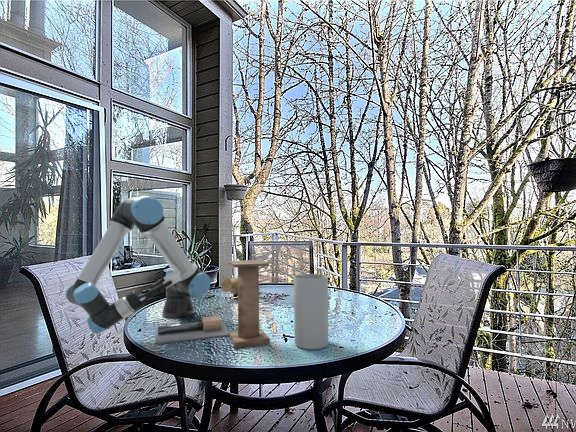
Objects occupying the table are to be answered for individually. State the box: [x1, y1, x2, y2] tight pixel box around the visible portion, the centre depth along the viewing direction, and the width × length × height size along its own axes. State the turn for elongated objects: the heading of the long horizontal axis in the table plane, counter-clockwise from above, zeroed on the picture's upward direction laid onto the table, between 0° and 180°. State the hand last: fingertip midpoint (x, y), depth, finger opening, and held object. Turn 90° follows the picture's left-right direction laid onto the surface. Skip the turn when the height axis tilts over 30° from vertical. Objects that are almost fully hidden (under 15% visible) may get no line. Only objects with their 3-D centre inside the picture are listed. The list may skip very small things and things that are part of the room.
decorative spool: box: [220, 277, 238, 298], centre depth 208 cm, size 10×12×30 cm
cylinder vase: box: [293, 273, 329, 351], centre depth 124 cm, size 12×12×25 cm
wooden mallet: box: [158, 315, 221, 334], centre depth 140 cm, size 24×7×4 cm, turn 109°
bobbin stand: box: [228, 259, 271, 349], centre depth 129 cm, size 13×13×30 cm
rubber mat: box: [154, 319, 230, 345], centre depth 140 cm, size 22×28×1 cm
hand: (179, 274), depth 139 cm, fingers open, 13 cm apart
